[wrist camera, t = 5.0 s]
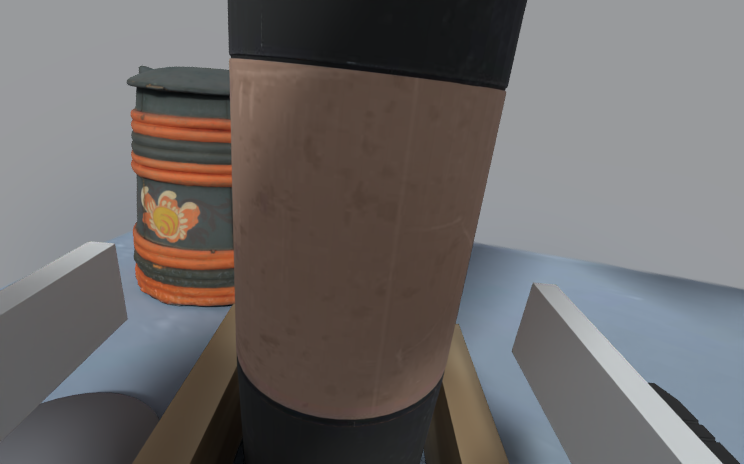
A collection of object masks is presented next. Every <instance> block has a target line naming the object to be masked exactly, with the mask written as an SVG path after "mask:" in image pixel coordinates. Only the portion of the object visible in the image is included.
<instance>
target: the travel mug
mask: <svg viewBox="0 0 744 464" xmlns="http://www.w3.org/2000/svg"><path fill="white" fill-rule="evenodd" d="M526 3H527V0H228V30H229V31H228V32H229V54H230V56H231V59H230V60H229V68H230V69H229V73H230V115H231V157H232V199H233V241H234V283H235V325H236V352H237V370H238V383H239V396H240V408H241V421H242V434H243V447H244V460H245V464H419V463H420V460H421V456H422V453H423V449H424V445H425V442H426V438H427V434H428V431H429V427H430V424H431V420H432V416H433V413H434V409H435V405H436V402H437V398H438V395H439V391H440V387H441V384H442V380H443V376H444V372H445V368H446V365H447V360H448V355H449V351H450V346H451V342H452V337H453V333H454V328H455V324H456V319H457V315H458V310H459V305H460V301H461V296H462V292H463V287H464V283H465V278H466V274H467V269H468V265H469V260H470V255H471V251H472V246H473V242H474V237H475V233H476V228H477V224H478V219H479V215H480V210H481V205H482V201H483V196H484V192H485V187H486V183H487V178H488V173H489V169H490V165H491V160H492V155H493V151H494V146H495V142H496V137H497V132H498V128H499V124H500V119H501V114H502V110H503V105H504V101H505V96H506V91H505V89H506V88H507V86H508V83H509V78H510V74H511V69H512V65H513V60H514V56H515V51H516V47H517V42H518V38H519V33H520V29H521V24H522V19H523V15H524V11H525V7H526Z"/></svg>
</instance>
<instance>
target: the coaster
mask: <svg viewBox="0 0 744 464" xmlns="http://www.w3.org/2000/svg"><path fill="white" fill-rule="evenodd" d="M159 421H160V420H159V418H158V416H157V415H156V413H155V412H154V411H153V410H152V409H151V408H150V407H149V406H148V405H147V404H145V403H144V402H142V401H140V400H138V399H136V398H133V397H131V396H127V395H123V394H116V393H101V392H99V393H85V394H78V395H72V396H67V397H63V398H58V399H55V400H51V401H48V402H44V403H41V404H39V405H38V406H37V407H36V408H35V409H34V410H33V411H32V412H31V413H30V414H29V415H28V416H27V417H26V418H25V419H24V420H23V421H22V422H21V423H20V424H18V425H17V426H16V427H15V428H14V429H13V430H12V431H11V432H10V433H9V434H8V435H7V436H6V437H5V438H4V439H3V440H2V441H1V442H0V464H132V463H133V462H134V460H135V458H136V457H137V455H138V454H139V452H140V451H141V449H142V447H143V446H144V444H145V443H146V441H147V439H148V438H149V436H150V435H151V433H152V432H153V430H154V428H155V427H156V425H157V424H158V422H159Z"/></svg>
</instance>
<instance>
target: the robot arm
mask: <svg viewBox="0 0 744 464" xmlns="http://www.w3.org/2000/svg"><path fill="white" fill-rule="evenodd" d="M127 319H128V318H127V312H126V306H125V300H124V294H123V289H122V283H121V277H120V271H119V265H118V259H117V253H116V247H115V244H113V243H102V242H91V241H89V242H87V243H85V244H83V245H82V246H80V247H78V248H76V249H75V250H73V251H71V252H69V253H67V254H66V255H64V256H62V257H60V258H58V259H57V260H55V261H53V262H51V263H49V264H48V265H46V266H44V267H43V268H40V269H39V270H37V271H35V272H33V273H31V274H30V275H28V276H26V277H24V278H22V279H21V280H19V281H17V282H15V283H14V284H12V285H10V286H8V287H6V288H5V289H3V290H1V291H0V442H1V441H2V440H3V439H4V438H5V437H6V436H7V435H8V434H9V433H10V432H11V431H12V430H13V429H14V428H15V427H16V426H17V425H18V424H20V423H21V422H22V421H23V420H24V419H25V418H26V417H27V416H28V415H29V414H30V413H31V412H32V411H33V410H34V409H35V408H36V407H37V406H38V405H39V404H40V403H41V402H42V401H43V400H44V399H45V398H46V397H47V396H48V395H49V394H51V393H52V392H53V391H54V390H55V389H56V388H57V387H58V386H59V385H60V384H61V383H62V382H63V381H64V380H65V379H66V378H67V377H68V376H69V375H70V374H71V373H72V372H73V371H74V370H75V369H76V368H77V367H78V366H79V365H81V364H82V363H83V362H84V361H85V360H86V359H87V358H88V357H89V356H90V355H91V354H92V353H93V352H94V351H95V350H96V349H97V348H98V347H99V346H100V345H101V344H102V343H103V342H104V341H105V340H106V339H107V338H108V337H109V336H110V335H112V334H113V333H114V332H115V331H116V330H117V329H118V328H119V327H120V326H121V325H122V324H123V323H124V322H125V321H126V320H127ZM512 353H513V355H514V356H515V358H516V360H517V362H518V364H519V366H520V368H521V370H522V371H523V373H524V375H525V377H526V379H527V381H528V383H529V385H530V386H531V388H532V390H533V392H534V394H535V396H536V398H537V400H538V401H539V403H540V405H541V407H542V409H543V411H544V413H545V415H546V417H547V418H548V420H549V422H550V424H551V426H552V428H553V430H554V432H555V433H556V435H557V437H558V439H559V441H560V443H561V445H562V447H563V448H564V450H565V452H566V454H567V456H568V458H569V460H570V462H571V463H572V464H740V463H739V462H738V461H737V460H736V459H735V458H734V457H733V456H732V455H731V454H730V453H729V452H728V451H727V450H726V449H725V448H724V446H723V445H722V444H721V443H720V442H716V441H715V437H714V436H713V435H712V434H711V433H710V432H709V431H708V430H707V429H706V428H705V427H704V426H703V425H699V423H698V420H697V419H696V418H695V417H694V416H693V415H692V414H691V413H690V412H689V411H688V410H687V409H686V408H685V407H684V406H683V405H682V404H681V403H680V401H678V400H677V399H676V398H674V397H673V396H671V395H670V394H669V393H667V392H666V391H664V390H663V389H662V388H660V387H659V386H657V385H656V384H655V383H647V382H646V381H645V380H644V379H643V378H642V376H641V375H640V374H639V373H638V372H637V371H636V370H635V369H634V368H633V367H632V366H631V365H630V364H629V363H628V361H627V360H626V359H625V358H624V357H623V356H622V355H621V354H620V353H619V352H618V351H617V350H616V349H615V347H614V346H613V345H612V344H611V343H610V342H609V341H608V340H607V339H606V338H605V337H604V336H603V335H602V334H601V332H600V331H599V330H598V329H597V328H596V327H595V326H594V325H593V324H592V323H591V322H590V321H589V320H588V318H587V317H586V316H585V315H584V314H583V313H582V312H581V311H580V310H579V309H578V308H577V307H576V306H575V305H574V303H573V302H572V301H571V300H570V299H569V298H568V297H567V296H566V295H565V294H564V293H563V292H562V291H561V289H560V288H559V287H558V286H557V285H553V284H542V283H533V284H532V288H531V291H530V294H529V297H528V300H527V304H526V307H525V310H524V313H523V317H522V320H521V323H520V326H519V329H518V333H517V336H516V339H515V342H514V345H513V349H512Z"/></svg>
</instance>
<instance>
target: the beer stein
mask: <svg viewBox="0 0 744 464" xmlns="http://www.w3.org/2000/svg"><path fill="white" fill-rule="evenodd" d="M127 84H128V85H130V86H135V87H137V90H136V107H135V109H133V110H132V111H131V117H132V119H133V120H132V122H131V126H132V129H133V131H132V135H131V136H132V139H133V141H132V144H131V145H132V149H133V150H132V152H131V156H132V159H133V160H132V162H131V166H132V169H133V170H134V172H135V173H136V174H137V222H136V224H135V226H134V228H133V236H134V248H135V250H134V260H135V261H136V267H135V271H136V276H135V277H136V279H137V280H138V285H139V286H140V288H141V291H142V292H144V293H147V294H148V295H150V296H151V297H152V298H154V299H157V300H159V301H160V302H162V303H166V304H170V305H176V306H180V305H194V306H222V305H233V304H235V283H234V241H233V199H232V157H231V115H230V73H229V70H224V69H211V68H197V67H166V68H158V69H152V68H149V67H146V66H140V67H139V74H138V75H135V76H133V77H131V78H129V79H128V80H127Z"/></svg>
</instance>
